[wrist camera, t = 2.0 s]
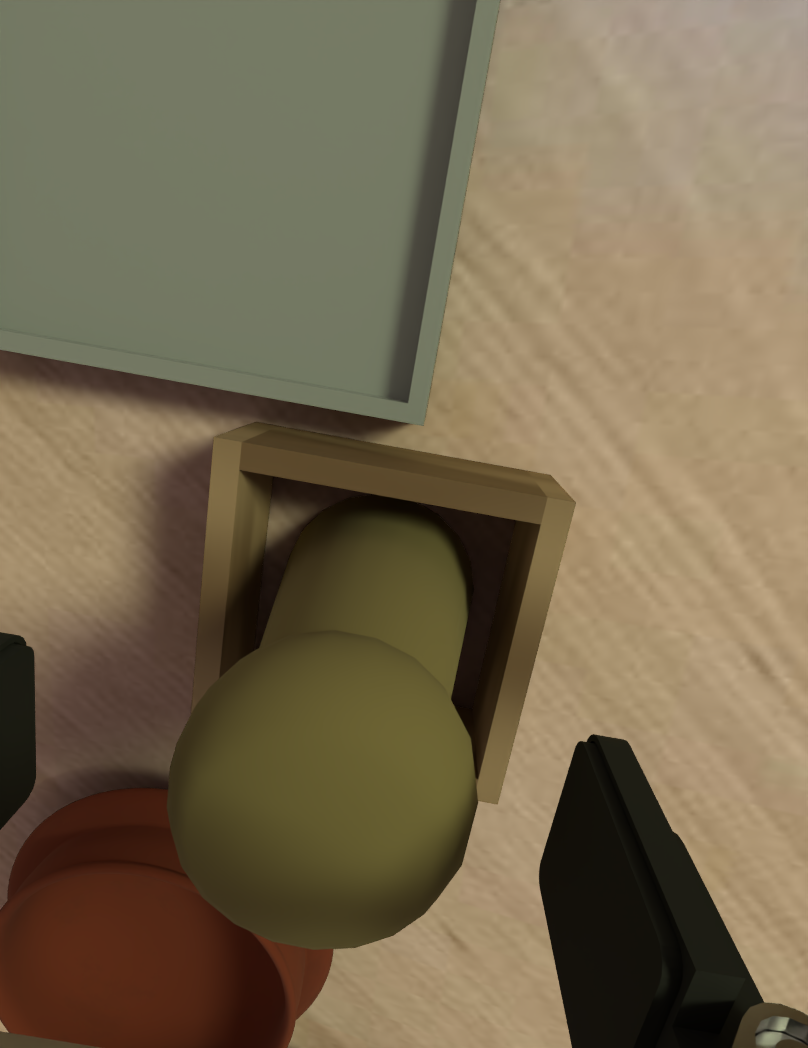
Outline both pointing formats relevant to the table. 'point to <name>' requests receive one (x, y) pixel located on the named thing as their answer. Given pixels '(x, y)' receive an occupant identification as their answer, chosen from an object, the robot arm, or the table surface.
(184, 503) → the table surface
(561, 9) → the table surface
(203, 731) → the olive pawn
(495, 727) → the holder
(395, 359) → the tray
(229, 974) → the pottery
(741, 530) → the table surface
